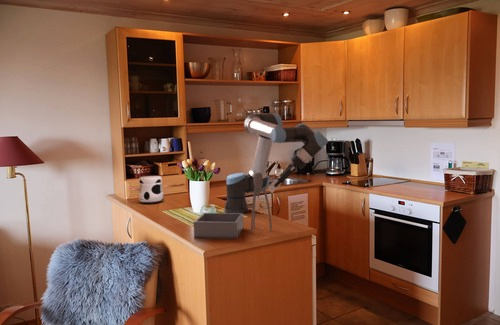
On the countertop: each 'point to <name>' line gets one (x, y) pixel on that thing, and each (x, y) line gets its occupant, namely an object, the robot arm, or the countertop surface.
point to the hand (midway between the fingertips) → (271, 188)
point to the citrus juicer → (258, 188)
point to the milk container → (151, 189)
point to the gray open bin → (218, 225)
